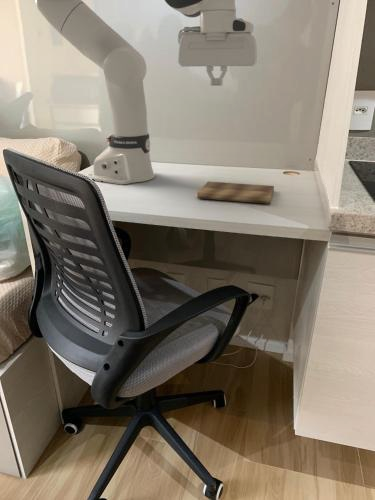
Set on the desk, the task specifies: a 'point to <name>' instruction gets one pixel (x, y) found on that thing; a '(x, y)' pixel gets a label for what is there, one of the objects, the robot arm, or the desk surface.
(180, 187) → the desk surface
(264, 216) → the desk surface
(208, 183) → the laid board
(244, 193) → the plank
